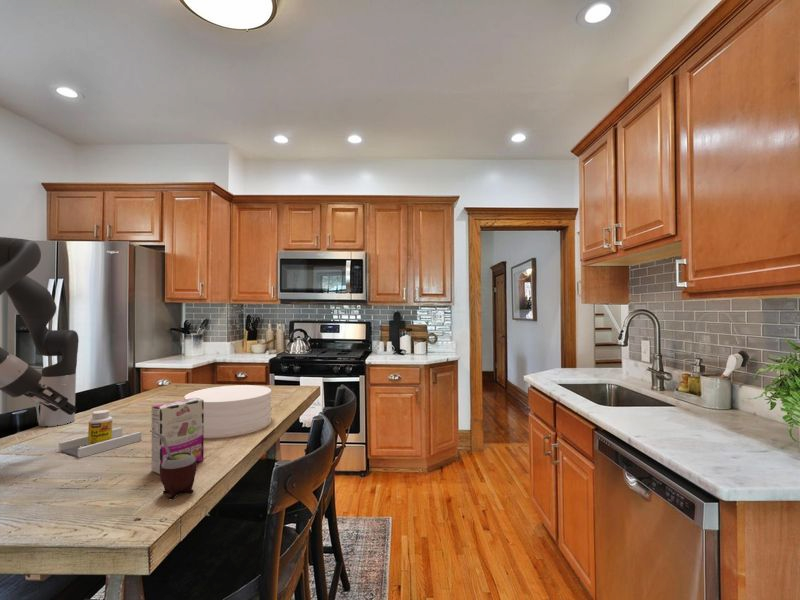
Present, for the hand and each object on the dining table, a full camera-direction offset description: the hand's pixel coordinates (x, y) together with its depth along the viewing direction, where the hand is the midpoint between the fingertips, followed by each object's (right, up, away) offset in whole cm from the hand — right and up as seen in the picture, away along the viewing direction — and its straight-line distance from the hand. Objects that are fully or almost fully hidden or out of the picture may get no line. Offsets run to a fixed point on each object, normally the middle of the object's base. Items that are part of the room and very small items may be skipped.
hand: (65, 410), depth 105 cm
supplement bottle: (+4, -13, +7) cm, 15 cm away
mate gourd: (+44, -12, -22) cm, 51 cm away
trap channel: (+4, -13, +9) cm, 16 cm away
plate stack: (+32, -14, +29) cm, 46 cm away
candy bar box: (+35, -13, -7) cm, 38 cm away
